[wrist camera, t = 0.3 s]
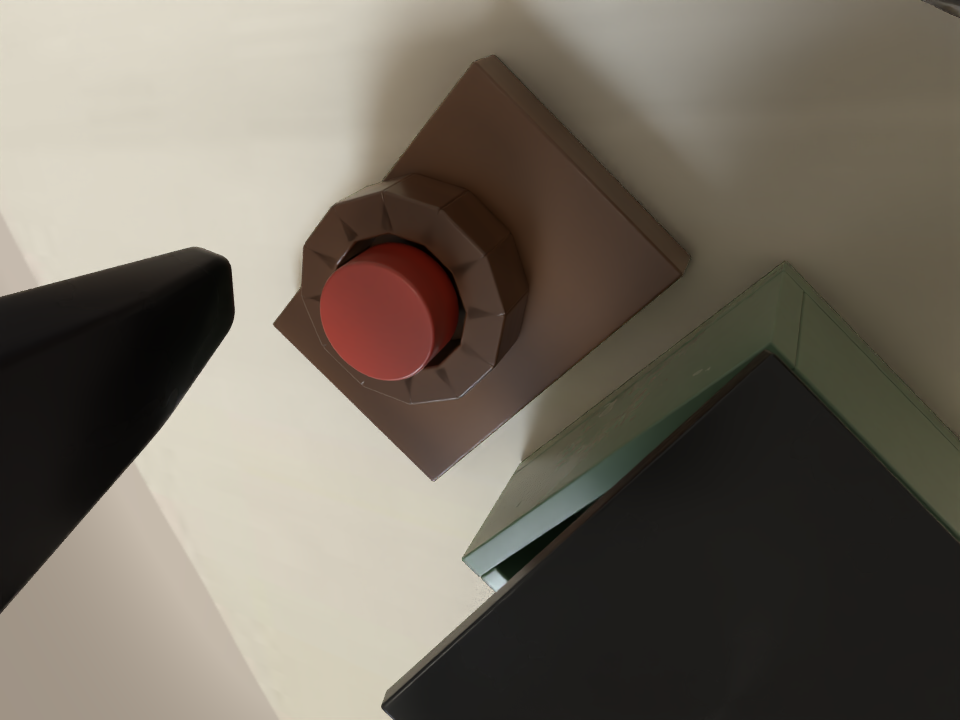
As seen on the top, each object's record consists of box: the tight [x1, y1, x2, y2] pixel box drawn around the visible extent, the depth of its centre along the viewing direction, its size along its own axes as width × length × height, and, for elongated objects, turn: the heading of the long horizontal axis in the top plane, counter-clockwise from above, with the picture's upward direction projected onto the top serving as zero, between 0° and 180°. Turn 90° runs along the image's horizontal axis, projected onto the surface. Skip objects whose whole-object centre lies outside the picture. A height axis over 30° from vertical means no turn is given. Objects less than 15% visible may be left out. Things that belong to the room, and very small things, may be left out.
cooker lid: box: [381, 349, 960, 720], centre depth 18 cm, size 12×11×1 cm
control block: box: [273, 55, 691, 481], centre depth 24 cm, size 12×8×4 cm
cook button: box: [320, 242, 459, 381], centre depth 22 cm, size 4×4×2 cm
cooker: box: [462, 261, 960, 592], centre depth 23 cm, size 12×11×5 cm
